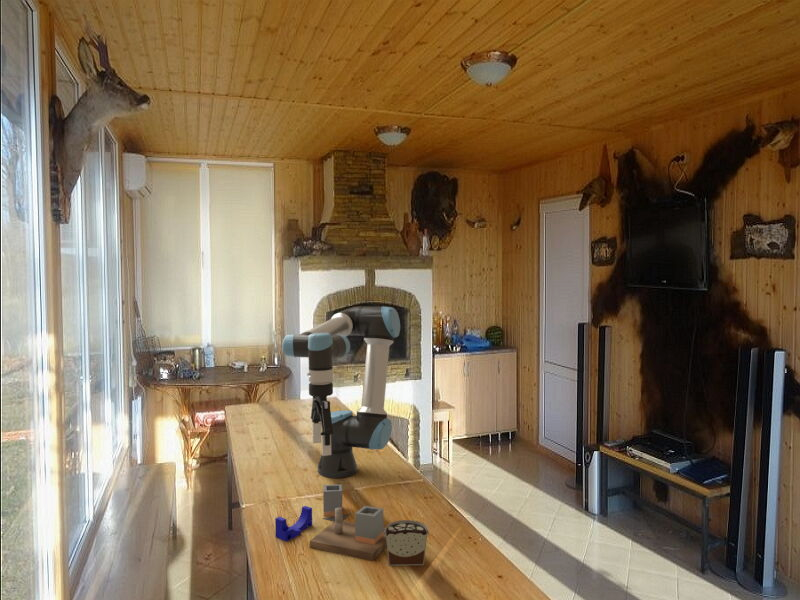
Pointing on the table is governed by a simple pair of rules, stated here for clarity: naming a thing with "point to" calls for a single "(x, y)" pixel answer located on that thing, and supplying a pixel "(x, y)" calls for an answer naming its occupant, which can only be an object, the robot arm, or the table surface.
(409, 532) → the brown grey rounded block
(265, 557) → the table surface
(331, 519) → the mat
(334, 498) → the sleeve
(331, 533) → the pin board
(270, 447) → the table surface
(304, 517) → the cable clip
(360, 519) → the seated sleeve
